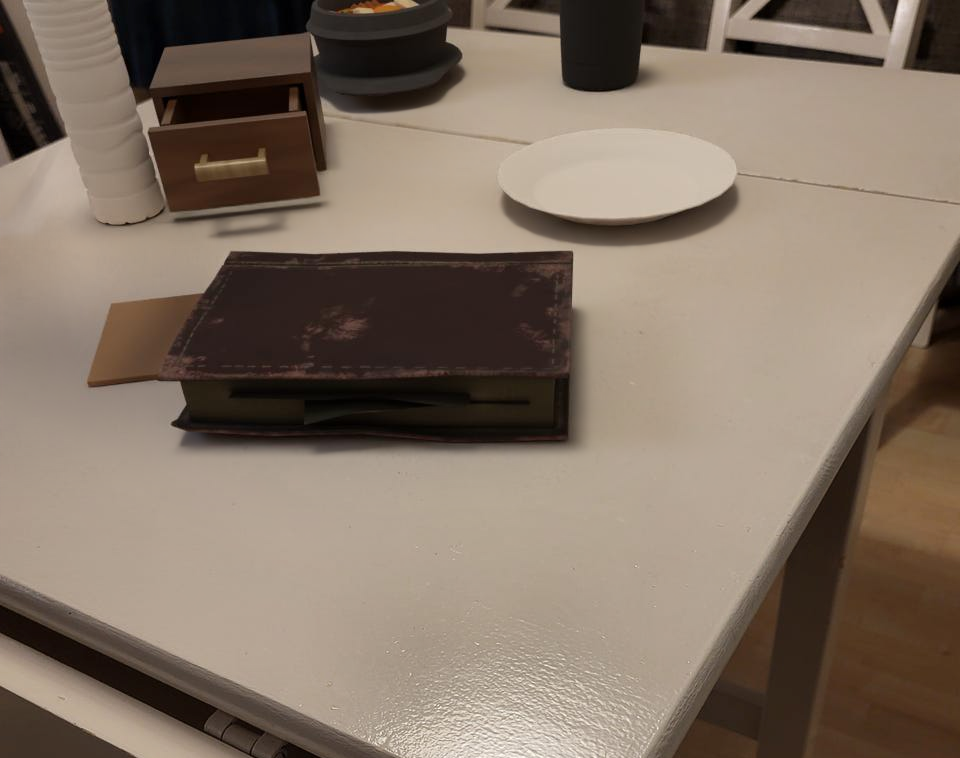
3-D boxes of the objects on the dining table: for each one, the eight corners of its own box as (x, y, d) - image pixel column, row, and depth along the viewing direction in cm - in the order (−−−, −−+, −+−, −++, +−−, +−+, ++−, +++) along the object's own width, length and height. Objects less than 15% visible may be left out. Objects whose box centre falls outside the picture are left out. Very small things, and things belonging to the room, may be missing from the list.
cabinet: (326, 169, 96) (310, 71, 89) (175, 186, 95) (149, 88, 89) (324, 123, 105) (310, 32, 99) (187, 138, 105) (164, 47, 99)
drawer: (320, 214, 85) (306, 131, 80) (165, 231, 85) (141, 148, 80) (318, 148, 97) (306, 72, 93) (182, 163, 97) (162, 87, 92)
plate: (771, 173, 88) (775, 147, 87) (667, 265, 76) (669, 237, 75) (573, 140, 97) (573, 116, 96) (452, 217, 85) (450, 191, 84)
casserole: (472, 104, 107) (467, 17, 101) (304, 119, 107) (289, 33, 101) (456, 43, 125) (450, -34, 119) (312, 56, 125) (300, -20, 119)
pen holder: (645, 90, 107) (651, -15, 100) (560, 95, 108) (560, -10, 101) (637, 65, 114) (642, -35, 107) (557, 69, 114) (557, -30, 107)
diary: (245, 305, 75) (231, 242, 71) (571, 306, 72) (573, 240, 69) (171, 446, 61) (149, 376, 58) (567, 452, 59) (569, 379, 56)
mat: (88, 387, 68) (86, 382, 68) (112, 308, 77) (111, 303, 76) (231, 370, 69) (230, 365, 68) (239, 293, 77) (238, 288, 77)
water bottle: (167, 194, 93) (77, -129, 76) (163, 220, 89) (65, -117, 71) (75, 205, 93) (-38, -118, 75) (65, 233, 88) (-57, -105, 71)
